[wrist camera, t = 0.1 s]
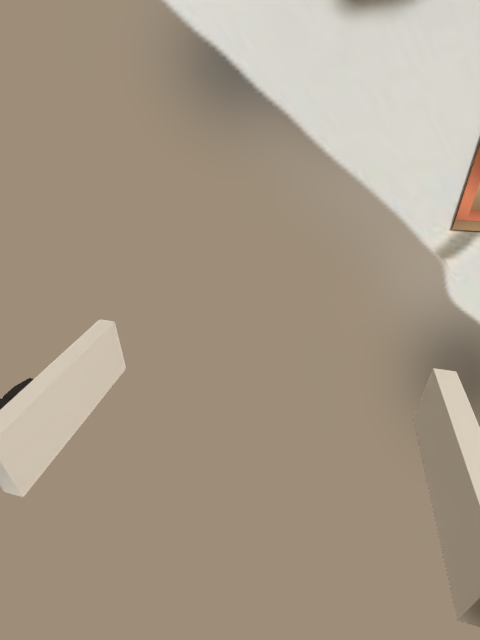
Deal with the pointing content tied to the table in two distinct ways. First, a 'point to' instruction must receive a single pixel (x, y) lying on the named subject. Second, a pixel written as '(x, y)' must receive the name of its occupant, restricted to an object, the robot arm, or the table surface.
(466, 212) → the print sheet
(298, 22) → the table surface
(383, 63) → the table surface
